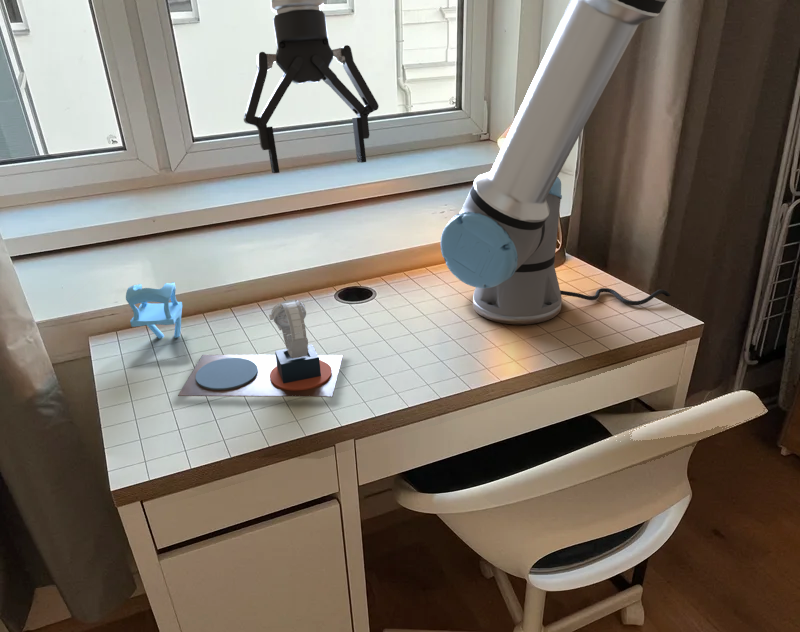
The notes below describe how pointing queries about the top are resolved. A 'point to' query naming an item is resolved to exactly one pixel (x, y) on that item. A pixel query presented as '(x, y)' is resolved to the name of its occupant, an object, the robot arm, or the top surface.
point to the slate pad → (226, 373)
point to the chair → (155, 308)
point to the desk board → (262, 379)
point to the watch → (294, 343)
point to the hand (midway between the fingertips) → (319, 167)
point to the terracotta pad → (304, 383)
